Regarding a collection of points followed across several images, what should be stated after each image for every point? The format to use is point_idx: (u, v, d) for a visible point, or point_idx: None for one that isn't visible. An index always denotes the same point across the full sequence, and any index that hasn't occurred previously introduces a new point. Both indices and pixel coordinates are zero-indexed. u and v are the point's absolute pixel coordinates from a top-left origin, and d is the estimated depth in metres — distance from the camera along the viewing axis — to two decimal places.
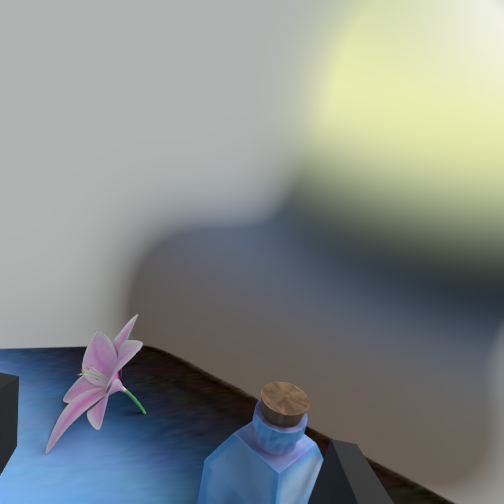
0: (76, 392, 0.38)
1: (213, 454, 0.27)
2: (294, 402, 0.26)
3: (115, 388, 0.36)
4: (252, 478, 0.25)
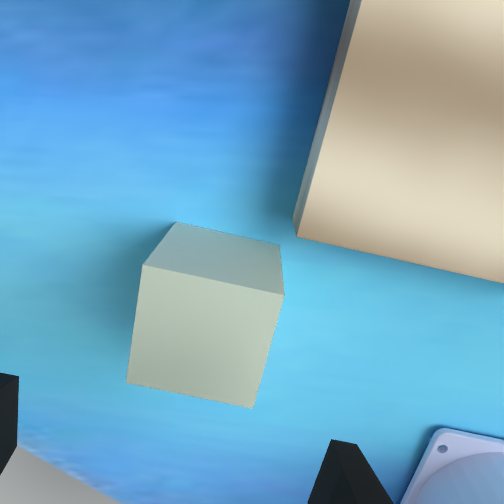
0: None
1: None
2: None
3: None
4: None
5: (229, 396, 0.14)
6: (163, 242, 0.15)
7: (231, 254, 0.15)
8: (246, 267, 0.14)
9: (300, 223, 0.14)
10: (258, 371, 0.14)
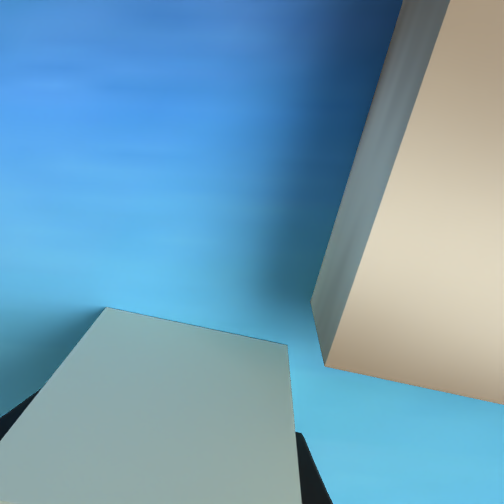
0: None
1: None
2: None
3: None
4: None
5: None
6: (55, 381, 0.07)
7: (195, 396, 0.08)
8: (222, 441, 0.07)
9: (332, 341, 0.07)
10: None
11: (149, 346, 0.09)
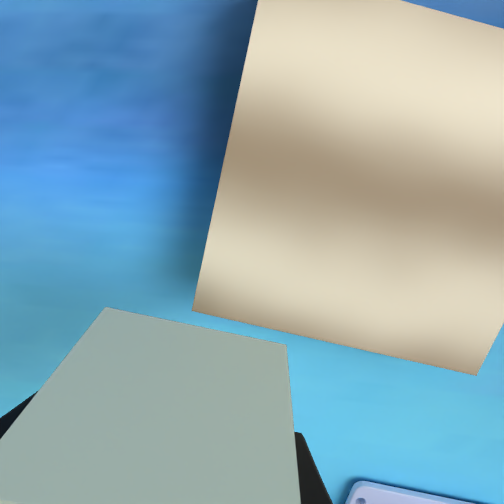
0: None
1: None
2: None
3: None
4: None
5: None
6: (54, 380, 0.07)
7: (194, 395, 0.08)
8: (220, 441, 0.07)
9: (195, 298, 0.15)
10: None
11: (148, 346, 0.09)
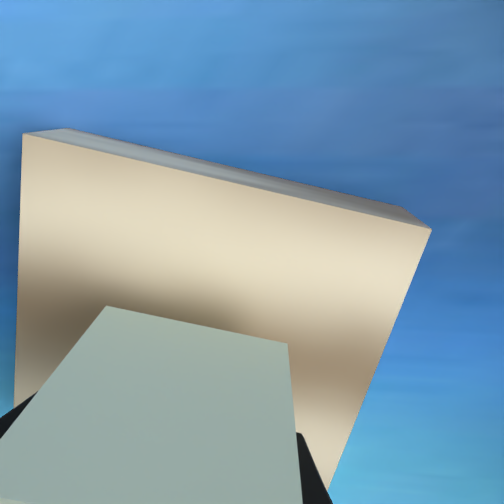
0: None
1: None
2: None
3: None
4: None
5: None
6: (55, 379, 0.07)
7: (195, 394, 0.08)
8: (222, 439, 0.07)
9: None
10: None
11: (149, 344, 0.09)
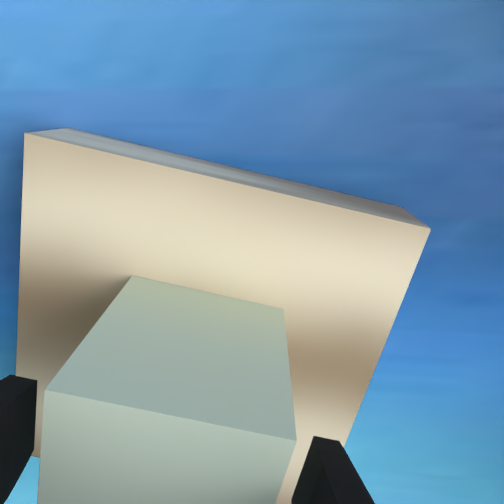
0: None
1: None
2: None
3: None
4: None
5: None
6: (100, 325, 0.09)
7: (210, 340, 0.10)
8: (232, 370, 0.09)
9: None
10: None
11: (170, 305, 0.11)
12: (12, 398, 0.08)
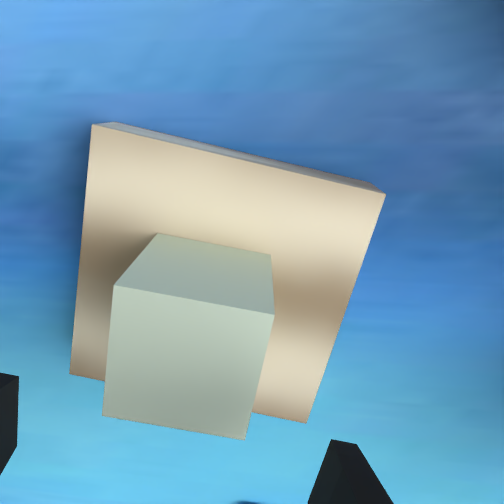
0: None
1: None
2: None
3: None
4: None
5: (218, 427, 0.13)
6: (140, 257, 0.13)
7: (217, 268, 0.14)
8: (232, 283, 0.13)
9: (71, 364, 0.18)
10: (249, 399, 0.12)
11: (187, 249, 0.15)
12: None
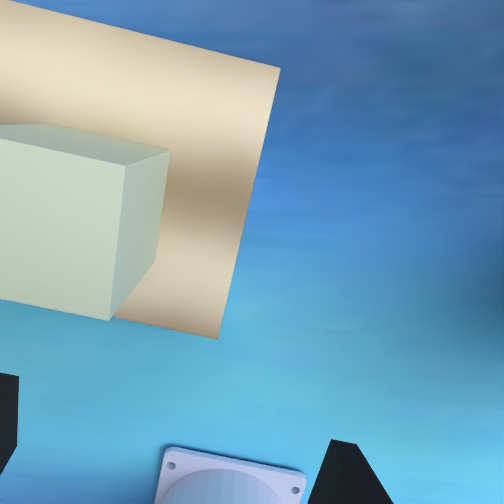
0: None
1: None
2: None
3: None
4: None
5: (78, 304, 0.12)
6: (6, 125, 0.12)
7: (92, 142, 0.13)
8: (99, 149, 0.12)
9: None
10: (108, 270, 0.11)
11: (72, 132, 0.14)
12: None
